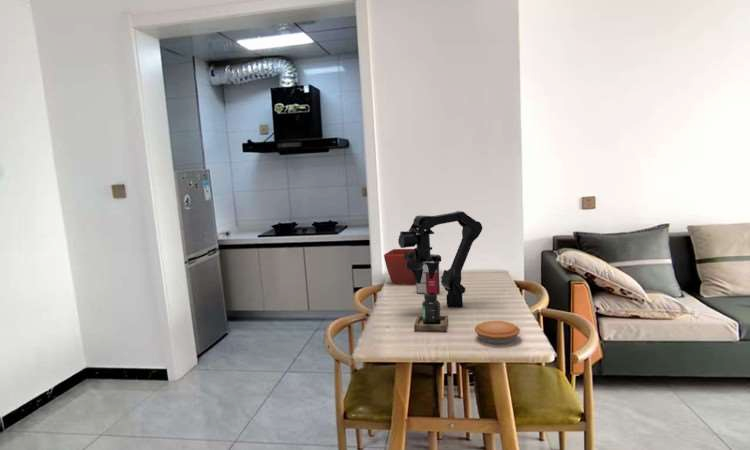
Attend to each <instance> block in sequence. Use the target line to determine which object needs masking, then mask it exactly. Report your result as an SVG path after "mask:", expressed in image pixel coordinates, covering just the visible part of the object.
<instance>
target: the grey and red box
mask: <svg viewBox="0 0 750 450" xmlns="http://www.w3.org/2000/svg"><path fill="white" fill-rule="evenodd" d="M422 268H423V273H422V278H421V282H420V284H418V283H417V281H416V284H415V285H416V286H415V287H416V294H421V295H424V294H426V293H436V294H437V295H439V294H440V293H441V288H440V264H439V265H438V267H437V269H436V271H435V273H434V276H433V278H432V279H430V278H429V271H428V266H427V265H426V263H425V264H423V267H422Z"/></svg>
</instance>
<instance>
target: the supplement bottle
mask: <svg viewBox="0 0 750 450" xmlns="http://www.w3.org/2000/svg"><path fill="white" fill-rule="evenodd" d="M423 295H424V297H423V300H422V303H421V306H422V307H421V310H422V311H421V313H422V315H423V324H436V325H440V324H441V316H440V315H441V303H440V301H439V300H437V299H438V294H436V293H426V294H423Z"/></svg>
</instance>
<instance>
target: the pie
mask: <svg viewBox="0 0 750 450" xmlns="http://www.w3.org/2000/svg"><path fill="white" fill-rule="evenodd" d="M520 331H521V329H520V327H518V326H517V325H515V324H514V323H511V322H508V321H504V320H488V321H484V322H481V323H479V324H477V325H476V326H475V327H474V332H475V334H477V336H479V339H480V340H481V341H482V342H484V343H486V344H491V345H507V344H510V343H513V342H514V341H515V339H516V337H517V336H518V335H519V334H520Z"/></svg>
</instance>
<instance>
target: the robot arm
mask: <svg viewBox="0 0 750 450" xmlns="http://www.w3.org/2000/svg"><path fill="white" fill-rule="evenodd" d="M455 222H457V223H458V225H459V226H461V227H462V229H461V236H462V237H461V241H460V243H459V246H458V249H457V251H456V253H455V255H454V259H453V261H452V263H451V266H450V268H449V269H448V270H446V269H444V270H443V273H442V276H441V277H440V279H441V280H440V283H441V285H442V287H443V288H444V290H445V291H446V292H447V294H446V297H445V298H446V306H447V308H463V307H464V302H463V301H464V299H463V294H465V292H466V287H465V286H464V285H462V284H461V282H462V270H463V269H464V268H463V267H464V265H465V263H466V260H467V257H468V255H469V254H470V251H471V247H472V245H473V243H474V241H476V240H477V239H478V237H480V235H481V233H482V231H483V225H482V223H481V222H480V221H477V220H475V219H474V218H473V217H471V216H470V215H468V214H467V213H466V212H465V211H462V210H461V211H459V210H457V211H454V212H449V213H448V212H447V213H442V214H436V215H416V216H415V217H414V218H413V222H412V224H411V225H410V228H409V229H408V230H407V231H400V233H399V236H398V239H397V240H398V246H399V247H400V249H407V248H411V247H412V248H413V247H414V248H413V249H414V252H412V253H410V252H409V251H408V252H405V253H404V259H405V260H407V263H406V268H408V269H409V270H411V271H412V272H413V274H414V276H415V278H416V281H417V283H418V284H420V282H421V278H422V273H423V268H422V267H423V264H425V263H426V265H427V266H428V271H429V278H430V279H432V278H433V276H434V273H435V271H436V269H437V267H438V265H439V266H440V264H441V263H440V262H442V256H441V255H440V254H431V251H432V250H433V247H432V246H431V239H430V236H431V235H434V234H435V231H433V230H432V229H433V228H434V227H436V226H438V225H442V224H443V225H444V224H448V223H455ZM410 260H411V261H410ZM417 260H418V261H417Z"/></svg>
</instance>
